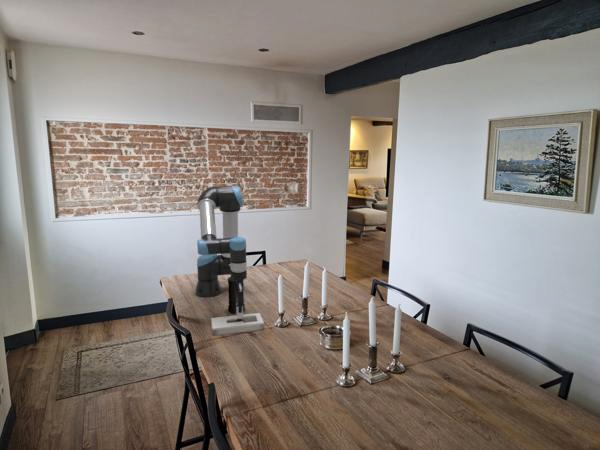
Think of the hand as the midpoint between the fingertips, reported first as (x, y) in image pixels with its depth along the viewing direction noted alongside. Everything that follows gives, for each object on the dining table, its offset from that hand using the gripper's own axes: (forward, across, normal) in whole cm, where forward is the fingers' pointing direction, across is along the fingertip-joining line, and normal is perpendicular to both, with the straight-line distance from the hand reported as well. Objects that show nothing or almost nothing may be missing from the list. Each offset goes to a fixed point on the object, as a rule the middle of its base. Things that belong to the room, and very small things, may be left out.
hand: (239, 316), depth 190 cm
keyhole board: (+5, 0, -1) cm, 5 cm away
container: (+5, -20, +1) cm, 21 cm away
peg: (+4, 0, 0) cm, 4 cm away
